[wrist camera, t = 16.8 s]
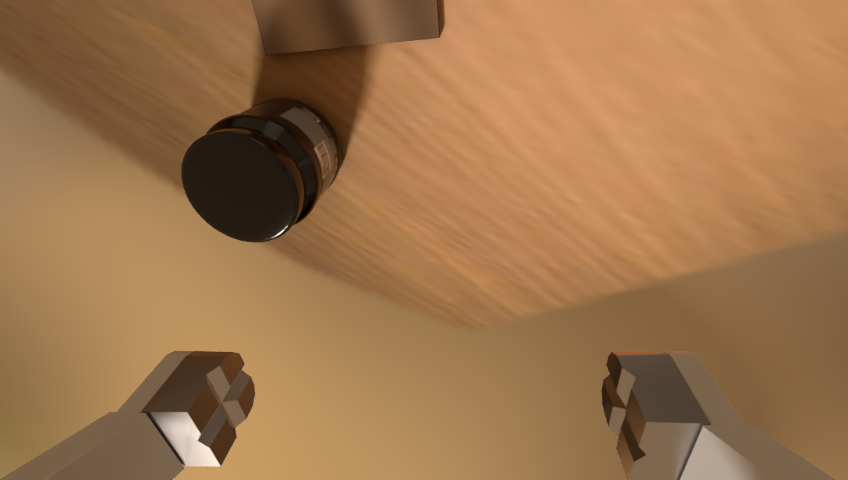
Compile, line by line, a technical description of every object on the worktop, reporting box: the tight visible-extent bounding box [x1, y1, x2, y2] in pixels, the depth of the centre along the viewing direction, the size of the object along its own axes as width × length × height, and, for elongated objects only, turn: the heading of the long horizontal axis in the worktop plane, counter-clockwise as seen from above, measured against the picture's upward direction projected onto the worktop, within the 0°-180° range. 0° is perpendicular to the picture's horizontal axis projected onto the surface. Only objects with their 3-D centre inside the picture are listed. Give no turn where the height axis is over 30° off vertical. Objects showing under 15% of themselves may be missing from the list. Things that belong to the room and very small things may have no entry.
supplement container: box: [181, 98, 341, 242], centre depth 36 cm, size 10×10×12 cm
